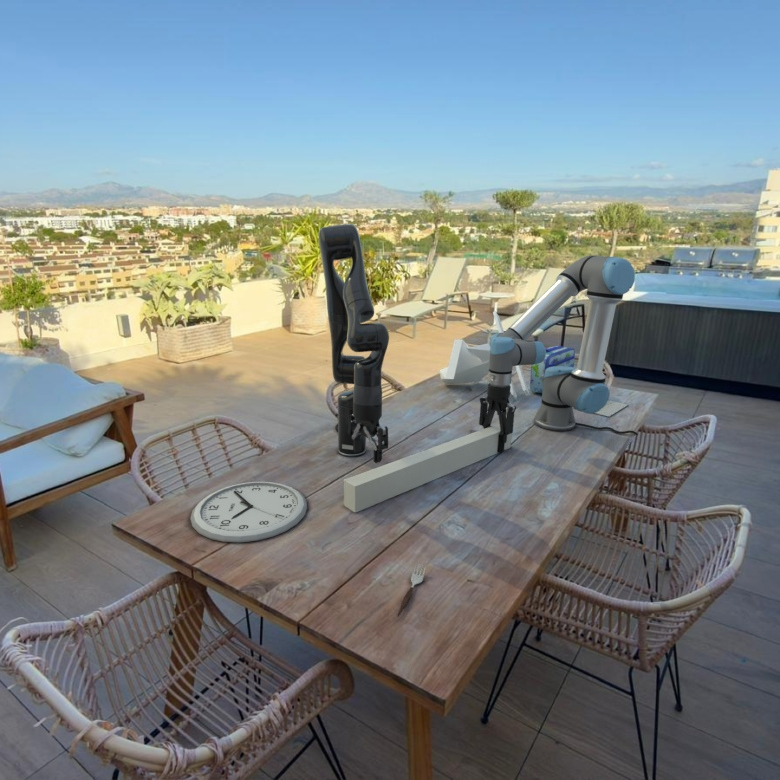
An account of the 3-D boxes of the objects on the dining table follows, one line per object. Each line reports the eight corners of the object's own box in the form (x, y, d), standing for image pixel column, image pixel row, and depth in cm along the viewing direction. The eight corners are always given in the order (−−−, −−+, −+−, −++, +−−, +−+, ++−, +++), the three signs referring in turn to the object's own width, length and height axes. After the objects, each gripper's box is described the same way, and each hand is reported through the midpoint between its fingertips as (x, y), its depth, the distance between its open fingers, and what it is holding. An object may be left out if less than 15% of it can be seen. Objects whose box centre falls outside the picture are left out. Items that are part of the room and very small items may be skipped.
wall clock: (302, 534, 126) (174, 538, 123) (303, 540, 126) (175, 544, 124) (310, 477, 154) (206, 479, 152) (310, 482, 155) (206, 484, 152)
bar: (499, 443, 186) (500, 422, 184) (510, 447, 182) (512, 426, 180) (343, 505, 143) (343, 479, 140) (355, 512, 139) (354, 486, 137)
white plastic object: (461, 429, 252) (437, 405, 227) (444, 352, 274) (420, 323, 250) (535, 404, 240) (518, 377, 215) (510, 326, 262) (492, 293, 237)
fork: (391, 616, 102) (391, 608, 102) (415, 569, 116) (416, 561, 116) (404, 620, 101) (404, 611, 101) (426, 571, 116) (427, 564, 115)
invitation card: (608, 416, 214) (573, 407, 224) (608, 416, 214) (573, 408, 224) (628, 404, 229) (594, 396, 238) (628, 405, 229) (594, 397, 238)
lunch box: (546, 399, 235) (551, 353, 228) (525, 393, 242) (530, 349, 236) (574, 387, 252) (579, 345, 246) (553, 383, 260) (558, 341, 253)
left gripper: (339, 395, 139) (340, 451, 144) (373, 409, 129) (373, 469, 133) (362, 390, 144) (362, 445, 148) (396, 403, 133) (395, 461, 138)
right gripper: (470, 380, 177) (466, 443, 184) (514, 392, 164) (508, 460, 171) (484, 376, 182) (480, 438, 189) (528, 388, 169) (522, 454, 176)
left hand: (367, 456), depth 141 cm, fingers open, 8 cm apart
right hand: (493, 448), depth 180 cm, fingers closed on bar, 5 cm apart
